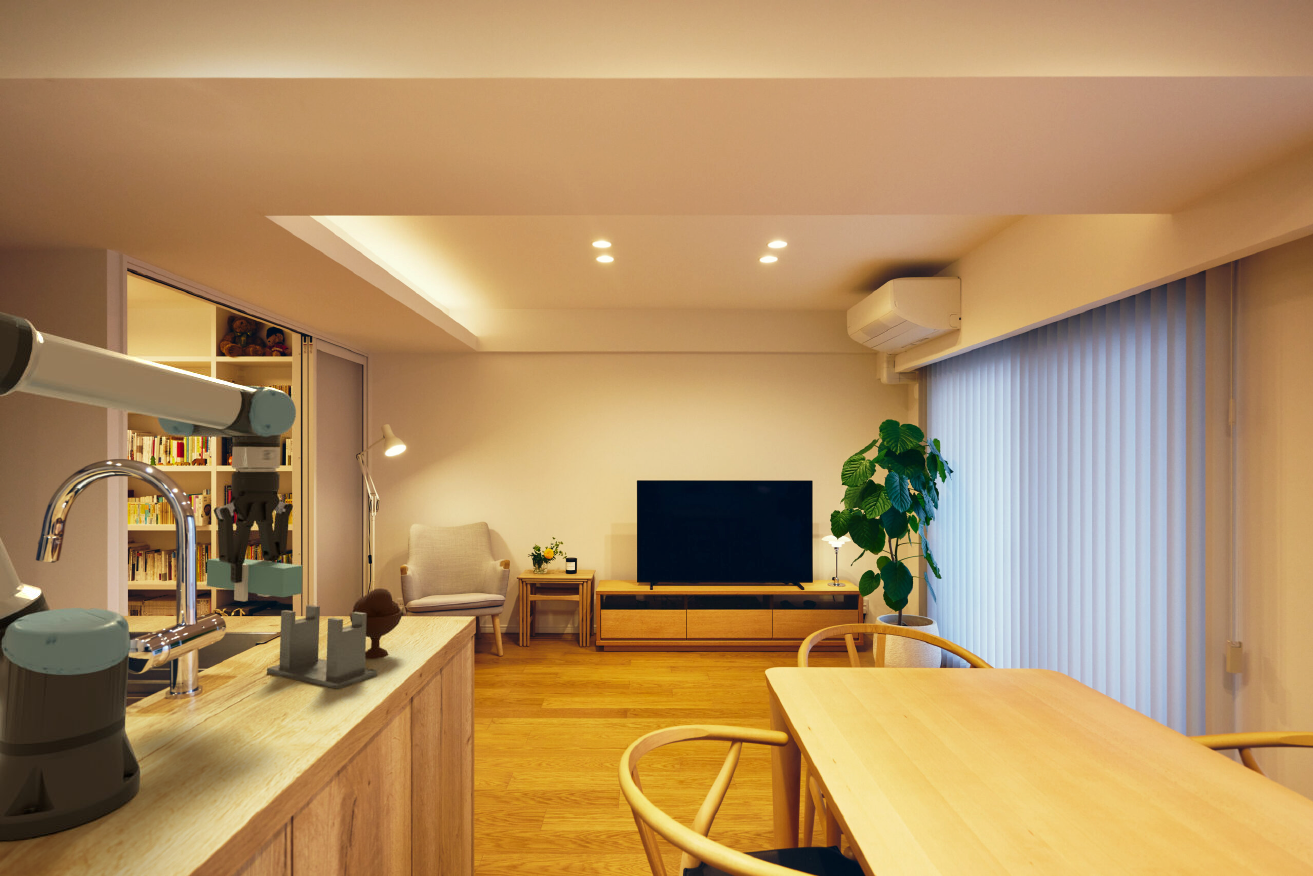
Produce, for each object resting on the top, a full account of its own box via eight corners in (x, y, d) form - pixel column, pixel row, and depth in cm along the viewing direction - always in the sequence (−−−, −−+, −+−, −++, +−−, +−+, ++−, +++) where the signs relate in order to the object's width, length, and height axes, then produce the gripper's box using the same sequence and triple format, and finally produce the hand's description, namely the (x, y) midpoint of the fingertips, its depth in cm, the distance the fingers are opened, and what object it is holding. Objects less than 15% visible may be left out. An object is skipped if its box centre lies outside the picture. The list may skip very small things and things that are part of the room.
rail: (301, 593, 114) (302, 565, 114) (282, 597, 111) (283, 568, 111) (225, 582, 123) (226, 557, 123) (206, 586, 120) (207, 559, 120)
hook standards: (338, 689, 121) (340, 622, 121) (266, 673, 130) (269, 611, 130) (376, 675, 129) (378, 613, 129) (307, 661, 138) (309, 602, 138)
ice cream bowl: (409, 649, 147) (411, 584, 148) (384, 664, 136) (386, 593, 137) (366, 647, 148) (368, 582, 149) (337, 662, 137) (339, 592, 138)
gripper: (221, 471, 108) (217, 609, 108) (310, 470, 123) (307, 591, 123) (195, 470, 112) (191, 605, 111) (285, 469, 127) (282, 588, 126)
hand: (252, 597), depth 117 cm, fingers closed on rail, 3 cm apart
